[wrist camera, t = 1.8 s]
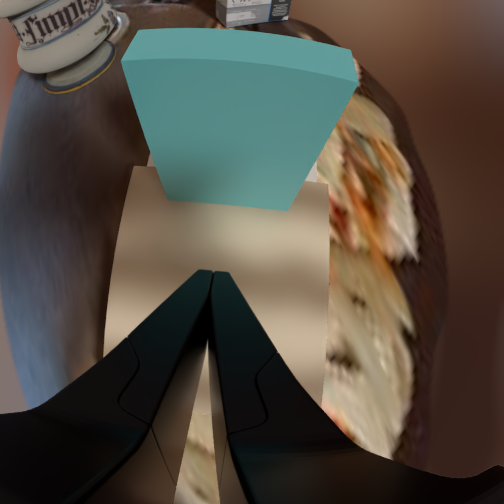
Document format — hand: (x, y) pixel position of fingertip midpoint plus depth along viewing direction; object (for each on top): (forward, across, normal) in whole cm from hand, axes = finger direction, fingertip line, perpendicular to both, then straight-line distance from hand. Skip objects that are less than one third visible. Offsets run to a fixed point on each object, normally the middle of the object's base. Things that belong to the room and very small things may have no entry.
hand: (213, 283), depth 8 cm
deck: (+10, 0, +8) cm, 13 cm away
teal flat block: (+8, 0, -2) cm, 9 cm away
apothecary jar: (+27, +20, -8) cm, 35 cm away
